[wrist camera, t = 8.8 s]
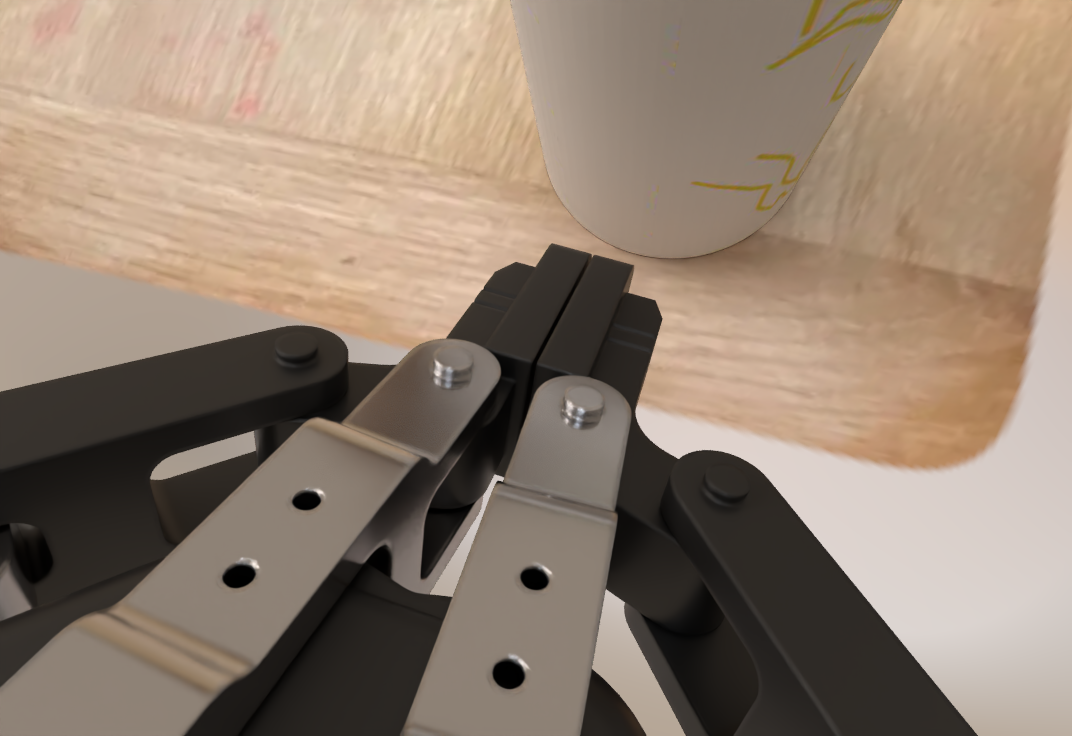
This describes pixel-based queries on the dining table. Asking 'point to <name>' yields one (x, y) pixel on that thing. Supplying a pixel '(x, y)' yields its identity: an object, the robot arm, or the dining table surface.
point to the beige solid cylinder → (687, 108)
